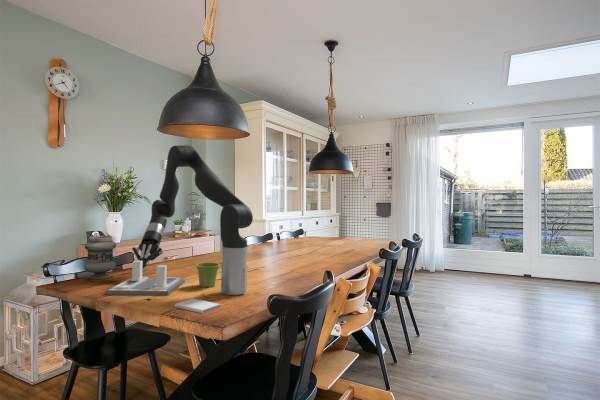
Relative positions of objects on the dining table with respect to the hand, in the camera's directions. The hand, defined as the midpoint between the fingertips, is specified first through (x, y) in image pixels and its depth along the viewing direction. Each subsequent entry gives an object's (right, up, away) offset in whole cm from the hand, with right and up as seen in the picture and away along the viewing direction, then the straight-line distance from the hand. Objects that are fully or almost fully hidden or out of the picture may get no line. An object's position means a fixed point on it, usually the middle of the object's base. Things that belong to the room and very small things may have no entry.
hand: (141, 267), depth 148 cm
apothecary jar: (-20, -6, +6) cm, 22 cm away
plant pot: (+28, -7, -2) cm, 29 cm away
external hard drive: (+32, -8, -32) cm, 46 cm away
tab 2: (+13, -5, -13) cm, 19 cm away
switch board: (+6, -6, -9) cm, 12 cm away
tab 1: (0, -4, -4) cm, 6 cm away
